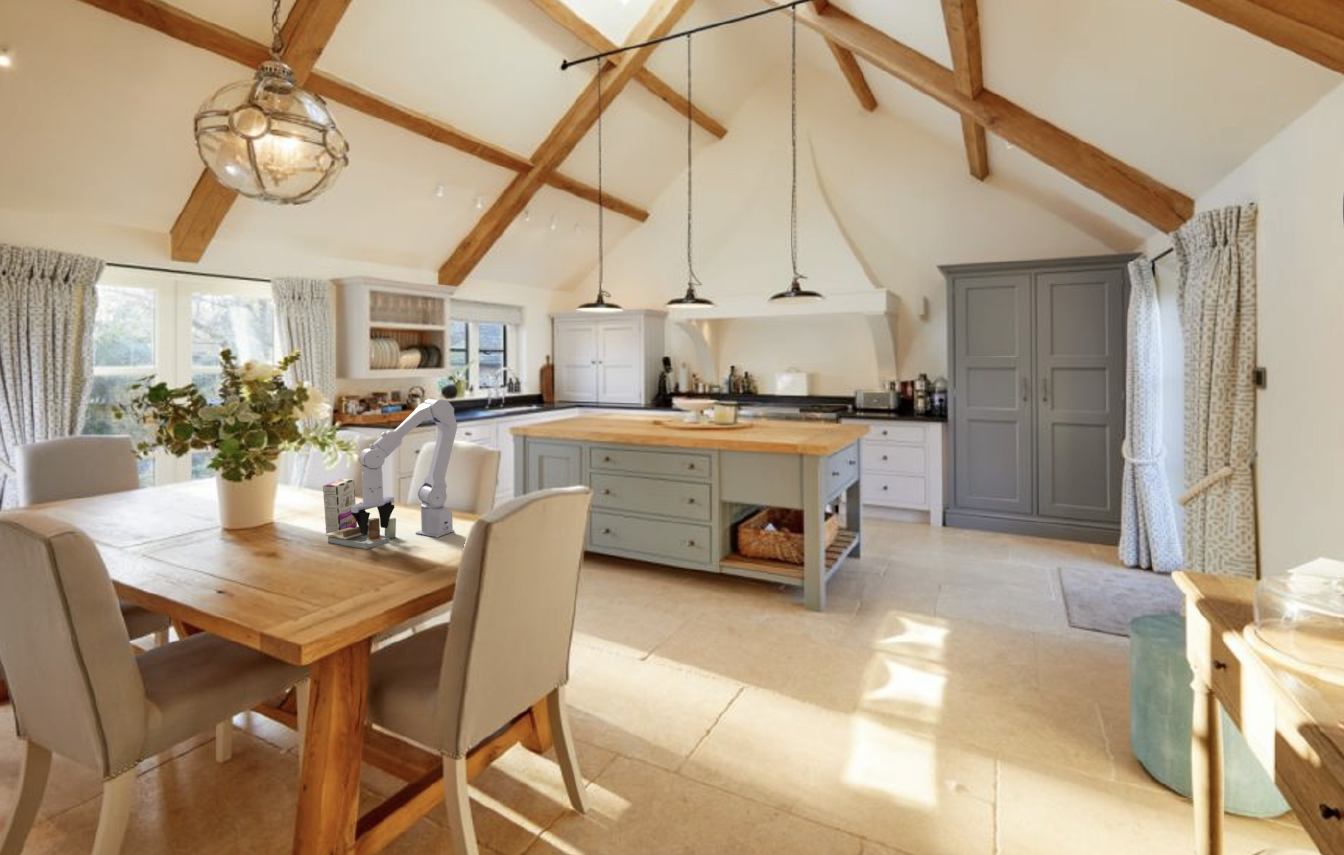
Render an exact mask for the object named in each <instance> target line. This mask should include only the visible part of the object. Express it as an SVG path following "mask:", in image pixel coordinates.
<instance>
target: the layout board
mask: <svg viewBox="0 0 1344 855" xmlns="http://www.w3.org/2000/svg"><path fill="white" fill-rule="evenodd" d="M329 542H330V544H336V545H342V546H347V547H353V548H359V549H363V550H366V549H370V548H373V547H377V546H379V545H383V544H385V543H389V542H390V538H389V536H385V534H380V538H379V539H373V540H371V539H369V532H368V534H362V535H358V536H355V537H351V538H348V539H342V538H336V537H330V536H327V543H329Z"/></svg>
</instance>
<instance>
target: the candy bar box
mask: <svg viewBox="0 0 1344 855" xmlns="http://www.w3.org/2000/svg"><path fill="white" fill-rule="evenodd" d="M322 488H323V489H322V491H323V503H324V504H323V505H324V506H323V507H324V520H325V522H324V523H325V533H326V534H328V533H331V532H335V531H338V530H342V529H345V528H349V527H351V528H356V527H358V523H357V521H356V519H355V518H354V516H353V515H352V512H351V506H353V505H356V504H357V503H356V487H355V479H354V478H340V479H337V480H335V481H332V482H329V483H327V484H324V485H322ZM326 534H325V535H326Z"/></svg>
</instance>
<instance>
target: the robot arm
mask: <svg viewBox="0 0 1344 855" xmlns="http://www.w3.org/2000/svg"><path fill="white" fill-rule="evenodd" d="M427 421H433V422H434V424H435V425H436V426H437V428H438V434H437V438H436V442H435V446H434V450H433V454H432V458H431V462H430V466H429V470H428V475H427V476H425V478H424V479H423V482H422V485H421V486H420V487H419V489H418V491H417V497H418V499H419V500H420V502H421V503H420V517H421V518H420V520H421V521H420V522H421V529H420V530H418V531H416V532H415V534H417V535H421V534H422V536H428V537H436V538H439V537H441V536H444V535H447V534H451V533H453V531H454V532H455V529H453V511H452V510H451V509H450V508H448V507H447V506H445V504H446V502H447V498H448V497H447V496H448V495H447V486H448V485H447V481H446V479H445V478H446V476H447V471H448V466H449V462H450V459H451V454H452V450H453V447H454V442H455V439H456V438H455V437H456V434H457V430H458V423H457V420H456V416H455V408H454V406H453V405H452V404H451V403H450V402H449V401H448V400H446V399H439V398H435V397H428V398H427V399H426V400H424V401H423V402H422V403H420V404H419V405H418V406H417V407H416V408H415V409H414V411H412V412H411V413H410V414H409V415H408V416H407V418H405V419H404V420H403V421H402V422H401V423H400V424H399V425H398V426H397V427H396V428H395V429H394V430H387V431H383V432H381V434H380V435H381V436H380V437H379V438H378V439H377V440H375V441H374V442H373V443H370V444H369V445H368V448H365V449H363V450H362V451H361V452H360V455H358V456H359V457H358V459H357V460H358V462H359V464H361V487H362V489H361V490H362V501H361V502H359V503H356V505H353V506H351V512H352V515H353V516H354V518H355V519H356V521H357V527H359V528H360V532H361V534H368V533H369V532H368V520H369V519H370V515H371V512H368V511H366V510H371V509H374V508H377V511H378V514H379V522H380V528H383V529H385V528H387V527H388V522H389V519H390V518H391V516H392V512H393V511H394V509H395V497H394V496H385V497H384V488H383V486H384V485H383V484H384V483H383V482H384V481H383V465H384V464H385V462H386V461H385V460H386V458H388V457H389V456H390V455H391V454H393V452H394V451H395V450H397V448H399V447H400V446H401V445H402V444H403V438H404V437H405V436H406V435H408V434H409V433H410V432H411V431H412V430H414V429H415V428H416V427H417V426H419V425H420V424H421V423H422V422H427ZM450 532H451V533H450Z"/></svg>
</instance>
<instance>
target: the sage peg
mask: <svg viewBox="0 0 1344 855" xmlns="http://www.w3.org/2000/svg"><path fill="white" fill-rule="evenodd" d="M396 526H397V518H396V517H390V519H389V522H388V527H387V528H384V536H389V539H394V537H395V538H396V532H397V527H396Z"/></svg>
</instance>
